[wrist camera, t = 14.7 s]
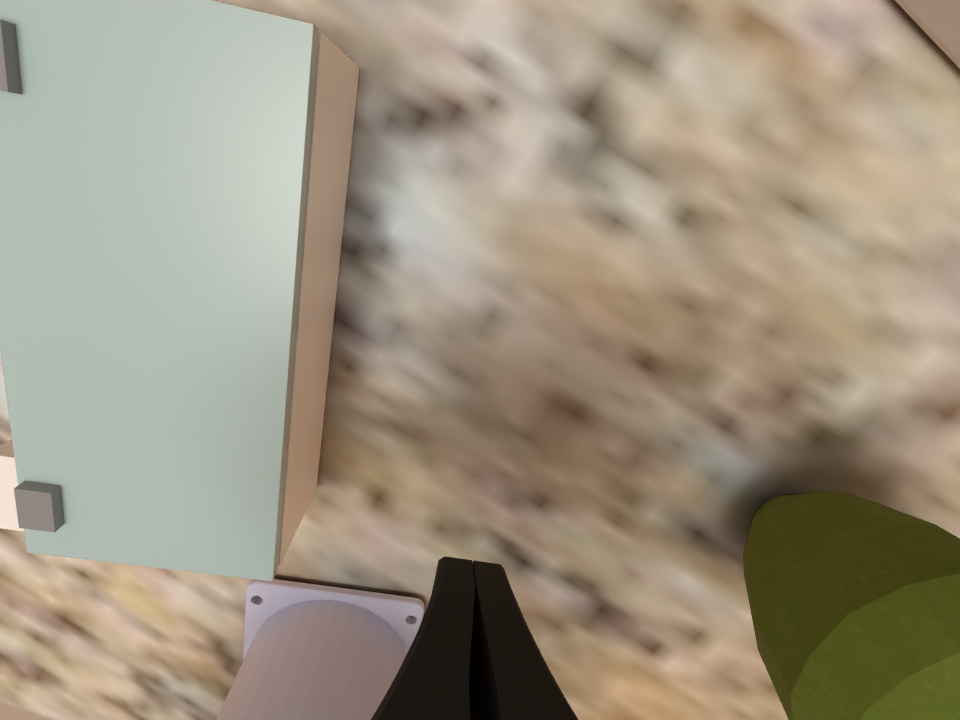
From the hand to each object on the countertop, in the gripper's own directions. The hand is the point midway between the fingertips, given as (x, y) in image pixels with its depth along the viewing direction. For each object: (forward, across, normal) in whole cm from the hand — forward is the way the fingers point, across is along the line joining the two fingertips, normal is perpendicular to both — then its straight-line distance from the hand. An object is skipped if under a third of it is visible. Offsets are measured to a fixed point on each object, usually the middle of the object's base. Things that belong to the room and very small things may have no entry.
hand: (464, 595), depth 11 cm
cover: (+5, +9, -3) cm, 11 cm away
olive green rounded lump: (+10, -15, +3) cm, 18 cm away
